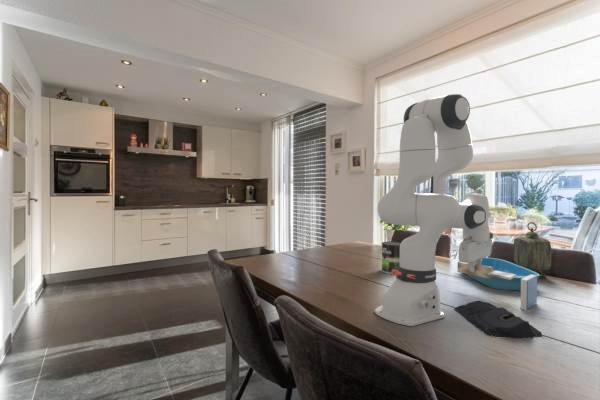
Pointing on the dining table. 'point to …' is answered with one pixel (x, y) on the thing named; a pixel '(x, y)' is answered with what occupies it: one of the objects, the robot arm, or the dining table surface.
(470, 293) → the dining table surface
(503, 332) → the black folded cloth
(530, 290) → the tile
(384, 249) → the coffee can
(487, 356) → the dining table surface
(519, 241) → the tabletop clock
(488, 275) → the turner
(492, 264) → the casserole dish
